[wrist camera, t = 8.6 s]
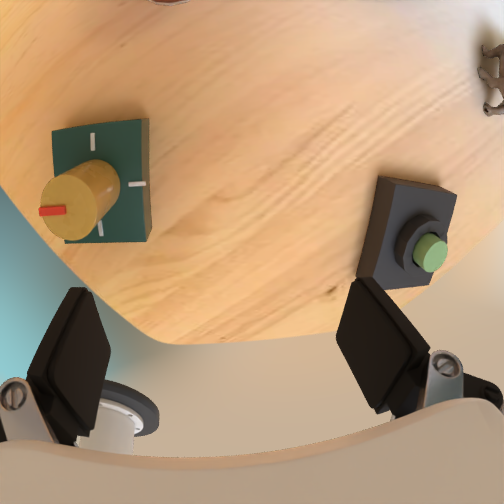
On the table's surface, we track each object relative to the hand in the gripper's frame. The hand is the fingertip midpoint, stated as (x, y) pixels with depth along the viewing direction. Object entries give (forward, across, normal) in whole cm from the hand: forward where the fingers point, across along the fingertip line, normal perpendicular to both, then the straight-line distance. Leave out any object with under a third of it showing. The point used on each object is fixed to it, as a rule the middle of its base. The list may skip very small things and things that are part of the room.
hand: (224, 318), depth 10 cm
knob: (+14, +9, -2) cm, 17 cm away
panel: (+17, +9, -2) cm, 19 cm away
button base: (+17, -22, +4) cm, 28 cm away
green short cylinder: (+12, -22, +4) cm, 25 cm away
